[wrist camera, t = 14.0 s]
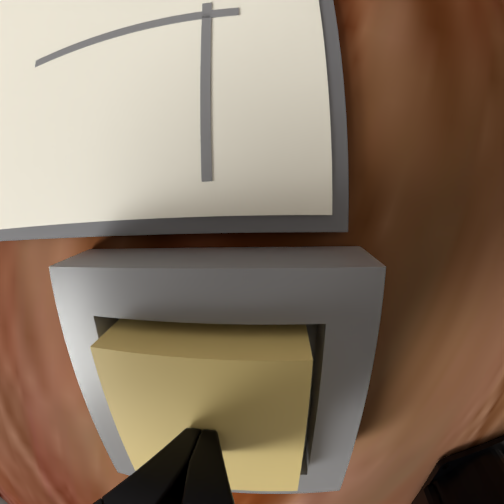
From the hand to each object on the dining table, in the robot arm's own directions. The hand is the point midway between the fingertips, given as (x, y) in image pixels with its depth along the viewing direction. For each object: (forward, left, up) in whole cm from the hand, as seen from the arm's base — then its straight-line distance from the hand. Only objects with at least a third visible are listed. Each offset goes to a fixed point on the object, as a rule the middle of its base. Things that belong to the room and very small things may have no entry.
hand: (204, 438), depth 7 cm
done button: (0, 0, -2) cm, 2 cm away
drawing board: (+5, -14, -3) cm, 15 cm away
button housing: (0, 0, -3) cm, 3 cm away
